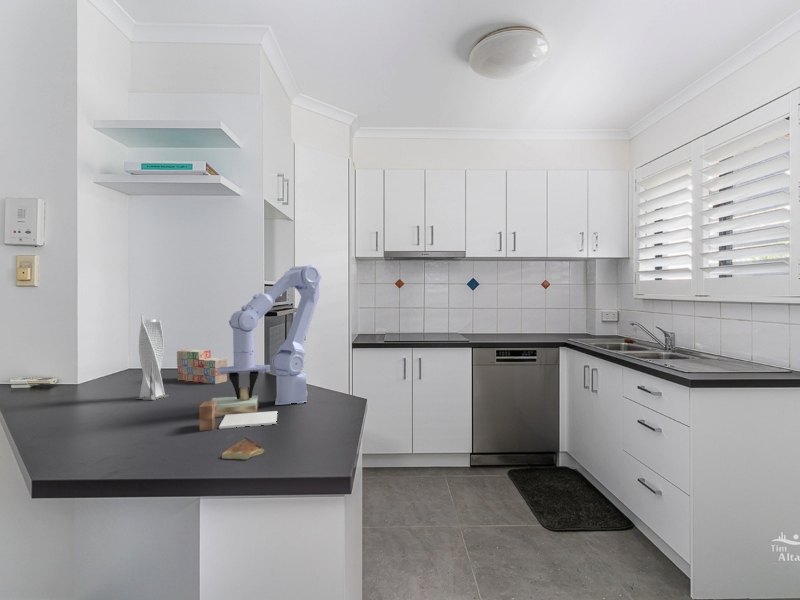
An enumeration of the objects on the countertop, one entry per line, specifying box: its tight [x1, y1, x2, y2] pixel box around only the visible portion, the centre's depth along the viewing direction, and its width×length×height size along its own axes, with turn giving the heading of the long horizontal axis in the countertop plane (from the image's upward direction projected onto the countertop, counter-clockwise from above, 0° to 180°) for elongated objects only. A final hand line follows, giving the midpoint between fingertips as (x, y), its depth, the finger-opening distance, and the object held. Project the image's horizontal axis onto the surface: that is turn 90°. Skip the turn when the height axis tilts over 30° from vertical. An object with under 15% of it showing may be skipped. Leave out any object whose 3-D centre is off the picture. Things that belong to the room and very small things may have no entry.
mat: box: [218, 410, 278, 430], centre depth 122 cm, size 14×12×1 cm
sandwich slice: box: [221, 437, 265, 460], centre depth 98 cm, size 11×8×2 cm
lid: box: [210, 386, 259, 408], centre depth 132 cm, size 13×10×4 cm
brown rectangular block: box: [198, 400, 217, 432], centre depth 117 cm, size 3×7×6 cm, turn 14°
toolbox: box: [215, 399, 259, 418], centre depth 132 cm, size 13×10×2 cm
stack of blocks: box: [176, 349, 228, 385], centre depth 182 cm, size 21×6×12 cm, turn 65°
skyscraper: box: [135, 314, 170, 401], centre depth 152 cm, size 8×8×28 cm
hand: (244, 397), depth 133 cm, fingers closed on lid, 3 cm apart
